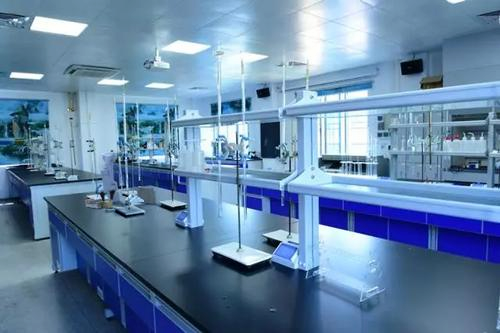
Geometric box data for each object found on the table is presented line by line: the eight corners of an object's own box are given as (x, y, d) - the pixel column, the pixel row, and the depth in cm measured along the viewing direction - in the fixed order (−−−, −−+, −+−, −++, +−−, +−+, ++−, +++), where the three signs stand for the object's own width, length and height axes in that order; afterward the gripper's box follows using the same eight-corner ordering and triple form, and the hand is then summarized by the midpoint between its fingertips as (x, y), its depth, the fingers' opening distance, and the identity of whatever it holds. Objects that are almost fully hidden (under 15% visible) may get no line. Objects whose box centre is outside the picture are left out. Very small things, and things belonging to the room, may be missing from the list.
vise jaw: (95, 201, 301) (95, 197, 301) (101, 202, 296) (101, 198, 296) (82, 203, 291) (82, 200, 291) (88, 204, 286) (88, 201, 286)
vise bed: (101, 203, 299) (100, 198, 298) (112, 205, 290) (112, 199, 290) (85, 206, 287) (85, 201, 286) (97, 208, 278) (96, 202, 278)
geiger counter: (156, 187, 293) (136, 185, 306) (150, 188, 288) (130, 186, 301) (157, 203, 294) (137, 200, 308) (151, 204, 289) (131, 202, 302)
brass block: (108, 206, 285) (108, 200, 285) (112, 207, 282) (111, 201, 282) (104, 207, 282) (103, 201, 281) (107, 208, 279) (107, 202, 279)
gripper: (101, 185, 272) (102, 202, 273) (117, 182, 284) (118, 199, 285) (96, 184, 276) (97, 201, 277) (111, 182, 288) (113, 198, 289)
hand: (107, 200), depth 281 cm, fingers open, 7 cm apart
